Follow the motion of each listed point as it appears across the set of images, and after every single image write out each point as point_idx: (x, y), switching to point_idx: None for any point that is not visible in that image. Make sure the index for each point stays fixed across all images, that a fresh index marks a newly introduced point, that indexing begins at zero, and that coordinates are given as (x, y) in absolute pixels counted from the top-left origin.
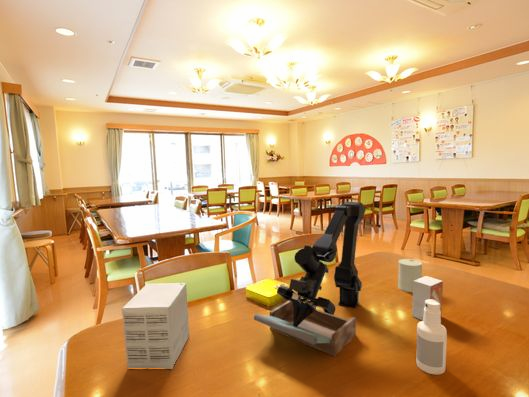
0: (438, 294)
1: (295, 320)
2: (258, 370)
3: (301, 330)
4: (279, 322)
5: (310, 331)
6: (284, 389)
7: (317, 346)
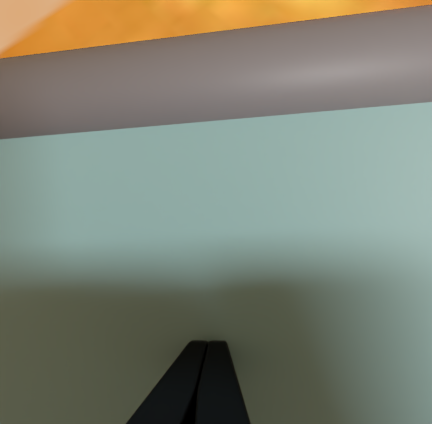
0: None
1: (196, 390)
2: (251, 6)
3: (39, 259)
4: (275, 70)
5: (43, 415)
6: (73, 12)
7: None
